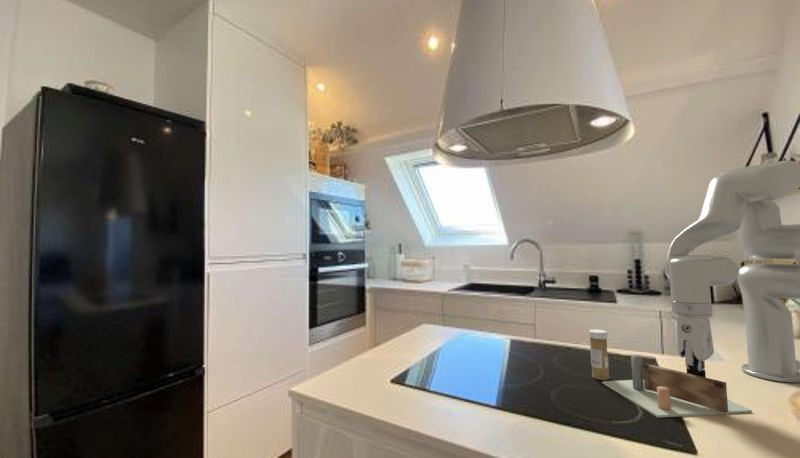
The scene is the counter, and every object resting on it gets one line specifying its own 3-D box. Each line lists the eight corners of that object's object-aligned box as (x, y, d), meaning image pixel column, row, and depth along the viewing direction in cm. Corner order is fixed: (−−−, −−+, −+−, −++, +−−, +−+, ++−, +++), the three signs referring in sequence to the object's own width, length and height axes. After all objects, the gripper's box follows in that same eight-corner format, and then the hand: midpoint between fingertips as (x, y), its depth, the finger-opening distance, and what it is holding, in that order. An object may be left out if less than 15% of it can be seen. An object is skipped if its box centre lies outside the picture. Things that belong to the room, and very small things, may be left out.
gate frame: (678, 379, 100) (675, 347, 100) (752, 412, 80) (748, 371, 80) (602, 383, 99) (600, 350, 99) (657, 417, 79) (655, 376, 79)
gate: (728, 411, 78) (726, 382, 78) (725, 413, 77) (723, 384, 78) (647, 387, 92) (645, 363, 92) (644, 389, 91) (642, 364, 91)
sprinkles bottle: (613, 379, 101) (610, 332, 101) (598, 381, 100) (595, 333, 101) (602, 374, 105) (599, 328, 106) (588, 375, 105) (585, 329, 105)
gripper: (703, 315, 78) (709, 400, 77) (719, 306, 87) (725, 382, 86) (662, 311, 84) (667, 390, 83) (681, 303, 93) (686, 374, 92)
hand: (696, 385), depth 85 cm, fingers closed
